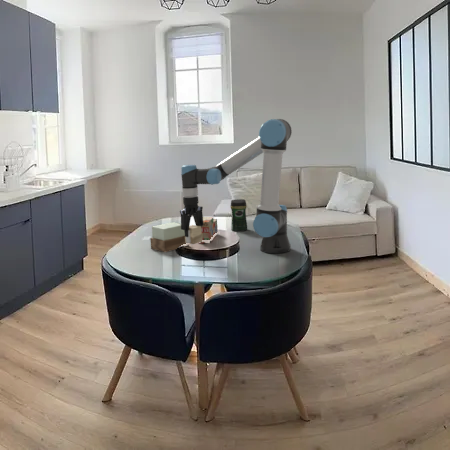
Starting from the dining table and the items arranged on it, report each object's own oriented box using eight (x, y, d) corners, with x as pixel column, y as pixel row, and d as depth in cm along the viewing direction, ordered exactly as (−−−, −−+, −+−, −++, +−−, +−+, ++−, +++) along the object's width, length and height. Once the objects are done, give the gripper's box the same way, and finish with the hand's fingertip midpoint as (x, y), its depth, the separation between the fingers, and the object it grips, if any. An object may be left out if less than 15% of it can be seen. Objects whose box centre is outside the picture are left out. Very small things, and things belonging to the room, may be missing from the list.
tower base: (188, 246, 267) (188, 235, 265) (165, 252, 255) (164, 241, 254) (174, 243, 275) (173, 232, 274) (151, 249, 264) (150, 238, 262)
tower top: (185, 235, 265) (184, 224, 264) (164, 240, 256) (163, 229, 254) (173, 232, 272) (173, 222, 271) (152, 237, 263) (151, 226, 262)
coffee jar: (246, 228, 304) (246, 198, 300) (247, 231, 296) (247, 200, 292) (230, 228, 303) (229, 198, 300) (231, 231, 296) (230, 200, 292)
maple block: (202, 241, 253) (201, 226, 251) (193, 244, 249) (192, 228, 247) (193, 240, 257) (192, 225, 255) (185, 242, 253) (184, 227, 251)
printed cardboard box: (207, 234, 292) (206, 213, 289) (217, 234, 290) (217, 213, 288) (198, 243, 271) (197, 221, 269) (209, 243, 270) (208, 221, 267)
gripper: (199, 193, 257) (201, 236, 262) (170, 198, 244) (174, 244, 249) (209, 194, 252) (211, 238, 257) (181, 199, 239) (184, 246, 244)
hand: (193, 241), depth 253 cm, fingers closed on maple block, 6 cm apart
